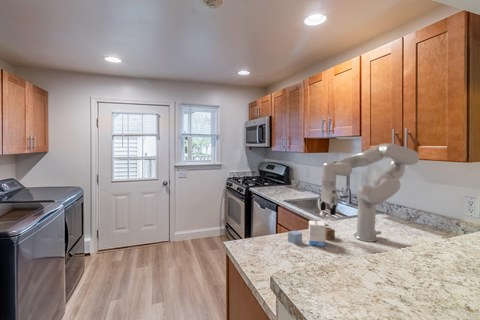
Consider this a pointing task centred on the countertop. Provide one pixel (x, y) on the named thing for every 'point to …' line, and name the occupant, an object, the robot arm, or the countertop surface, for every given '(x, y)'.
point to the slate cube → (294, 237)
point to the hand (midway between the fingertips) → (327, 212)
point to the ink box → (317, 233)
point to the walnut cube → (329, 233)
